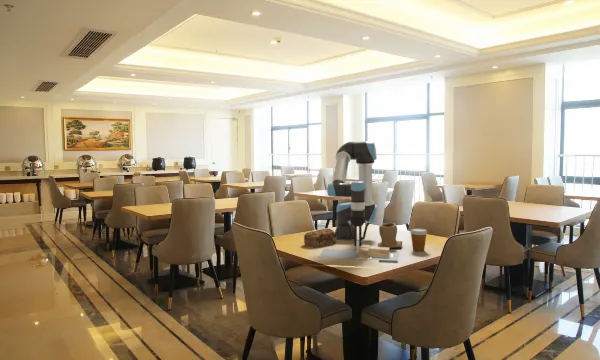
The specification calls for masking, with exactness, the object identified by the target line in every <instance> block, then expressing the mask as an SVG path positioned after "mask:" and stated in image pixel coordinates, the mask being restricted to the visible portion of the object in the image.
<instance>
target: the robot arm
mask: <svg viewBox="0 0 600 360" xmlns="http://www.w3.org/2000/svg"><path fill="white" fill-rule="evenodd" d="M335 160H336V161H335V166H334V173H333V178H332V183H328V184H327V187H326V193H327V196H328V197H334V198H350V202H343V203H339V204H337V206H336V228H335V230H334V232H335V233H336V237H337V239H338V240H353V241H354V243H353V244H354V247H356V249H355V250H356V252H357V253H359V248H360V246H361V245H362V241H364V240H365V238H366V234H367V230H368V227H369V226H370V223H374V222H375V221H376V218H377V212H378V211H377V210H378V205H377V204H376V202H375V201H374V200H373V164H374V163H375V161H376V160H377V149H376V143H375V142H374V141H368V140H367V141H366V140H364V141H363V140H362V141H360V140H359V141H348V142H346V143H344V144H342V145H341V146H340V147H339V149H338V150H337V152H336V154H335ZM351 161H355V164H357V165H358V181H352V182H351V183H346V181H347V176H348V168H349V163H350V162H351ZM363 225H365V227H364V231H363V233H362V229H363ZM337 239H336V240H337Z"/></svg>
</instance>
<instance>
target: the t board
mask: <svg viewBox="0 0 600 360" xmlns="http://www.w3.org/2000/svg"><path fill="white" fill-rule="evenodd" d="M398 255H399V254H398V251H392V250H389V257H379V256H369V257H368V259H366V258H359V253H357V252H356V249H338V248H337V249H335V248H324V249H323V250H322V252H320V254H319V256H318V258H322V259H324V258H325V259H326V258H327V259H328V258H329V259H347V260H348V259H349V260H369V261H371V260H373V261H374V260H375V261H378V263H380V262H381V263H398V261H399V259H398V257H399V256H398Z"/></svg>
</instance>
